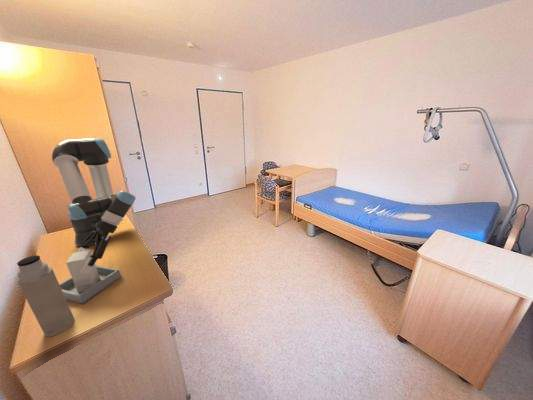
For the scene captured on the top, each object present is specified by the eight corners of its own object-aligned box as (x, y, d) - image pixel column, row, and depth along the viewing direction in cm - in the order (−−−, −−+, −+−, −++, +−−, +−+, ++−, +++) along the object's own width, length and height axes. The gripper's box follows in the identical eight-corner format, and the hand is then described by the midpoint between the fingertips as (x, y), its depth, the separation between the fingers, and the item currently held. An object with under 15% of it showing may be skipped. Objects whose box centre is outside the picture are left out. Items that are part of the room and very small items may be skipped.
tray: (95, 272, 105) (92, 264, 104) (121, 277, 101) (119, 269, 99) (54, 297, 90) (51, 288, 89) (83, 304, 85) (79, 296, 84)
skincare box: (84, 281, 97) (72, 252, 92) (101, 277, 100) (91, 248, 95) (77, 293, 90) (64, 262, 85) (96, 288, 92) (84, 258, 88)
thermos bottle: (37, 336, 72) (0, 267, 63) (60, 317, 80) (29, 252, 71) (60, 336, 72) (26, 266, 63) (80, 316, 79) (52, 251, 71)
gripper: (128, 231, 93) (98, 279, 87) (107, 219, 107) (80, 259, 101) (111, 225, 87) (77, 276, 81) (91, 213, 102) (61, 255, 95)
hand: (79, 267), depth 91 cm, fingers open, 13 cm apart
